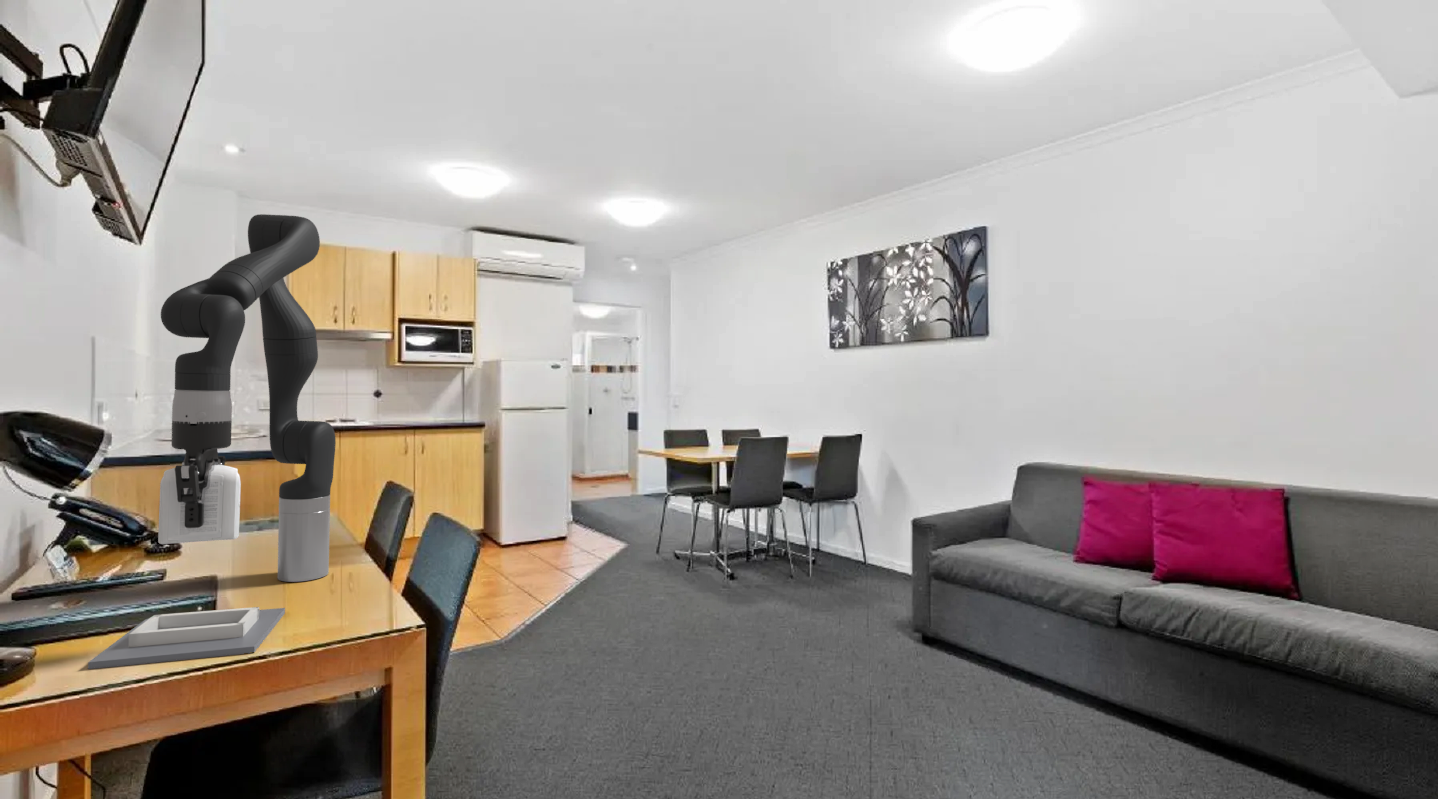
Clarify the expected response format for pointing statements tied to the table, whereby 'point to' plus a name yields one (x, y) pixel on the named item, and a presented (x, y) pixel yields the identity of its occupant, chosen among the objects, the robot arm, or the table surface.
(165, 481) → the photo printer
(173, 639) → the dock
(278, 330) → the robot arm
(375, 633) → the table surface
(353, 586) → the table surface
